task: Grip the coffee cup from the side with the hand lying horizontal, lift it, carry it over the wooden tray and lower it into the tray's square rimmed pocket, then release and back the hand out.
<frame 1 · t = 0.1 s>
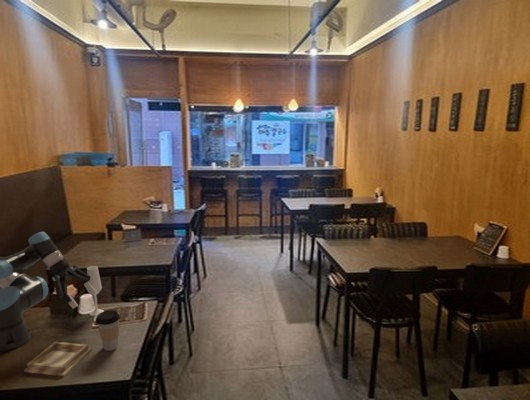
hand: (85, 300, 171), 15 cm above the table, tool tilted 35°, fingers open, 13 cm apart
champagne flute: (96, 312, 191), on the table
wooden tray: (59, 360, 152), on the table
coffee cup: (110, 347, 161), on the table
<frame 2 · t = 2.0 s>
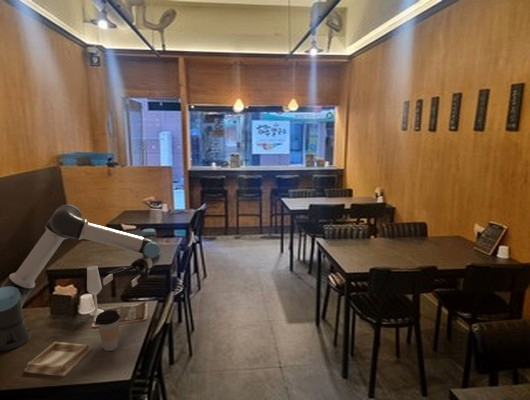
hand: (118, 283, 165), 25 cm above the table, tool horizontal, fingers open, 13 cm apart
nothing on the table moved.
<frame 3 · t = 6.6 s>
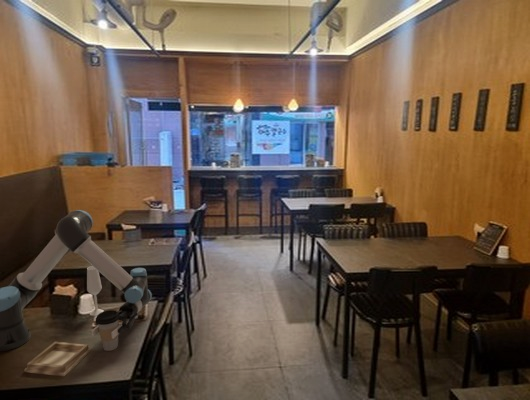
hand: (102, 334, 155), 9 cm above the table, tool horizontal, fingers closed on coffee cup, 8 cm apart
coffee cup: (110, 347, 161), on the table, touching gripper
everything else where it was.
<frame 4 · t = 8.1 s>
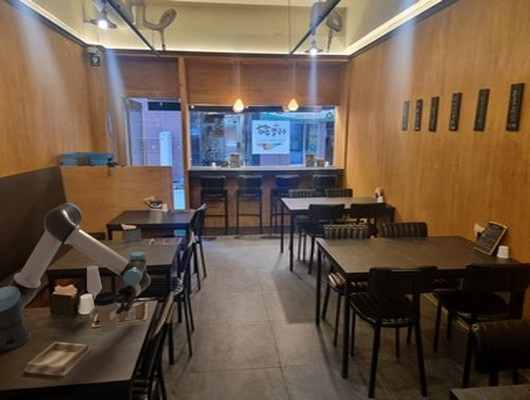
hand: (100, 315, 153), 17 cm above the table, tool horizontal, fingers closed on coffee cup, 8 cm apart
coffee cup: (108, 329, 159), point 8 cm above the table, touching gripper
everything else where it was.
when the fingers open (11 cm above the table, at t = 11.4 s): coffee cup moves 3 cm, resting on wooden tray.
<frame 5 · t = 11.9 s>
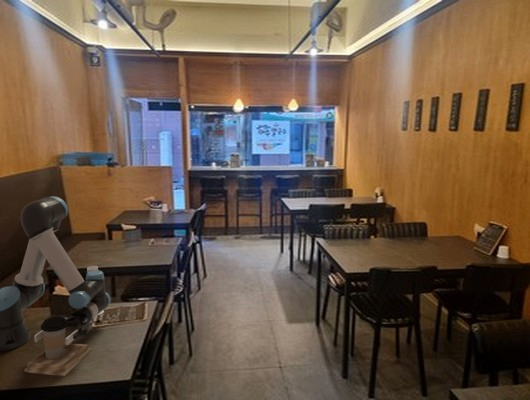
hand: (50, 340, 146), 11 cm above the table, tool horizontal, fingers open, 13 cm apart
coffee cup: (53, 355, 153), point 1 cm above the table, touching wooden tray, gripper
everything else where it was.
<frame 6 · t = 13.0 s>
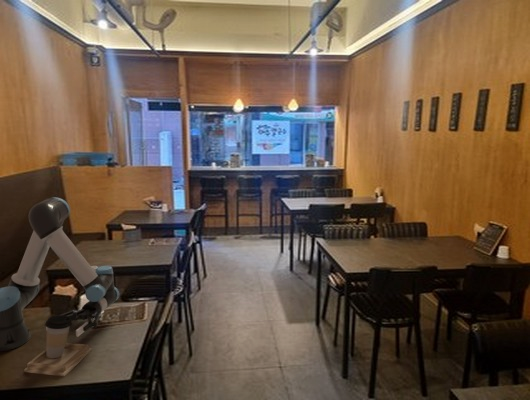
hand: (61, 332, 152), 11 cm above the table, tool horizontal, fingers open, 13 cm apart
coffee cup: (54, 355, 153), point 1 cm above the table, touching wooden tray
everything else where it was.
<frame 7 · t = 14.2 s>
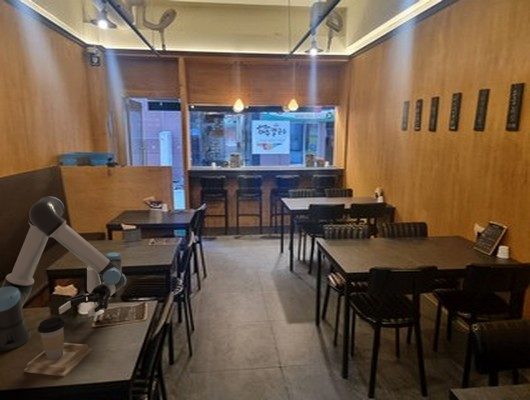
hand: (74, 312, 159), 16 cm above the table, tool horizontal, fingers open, 13 cm apart
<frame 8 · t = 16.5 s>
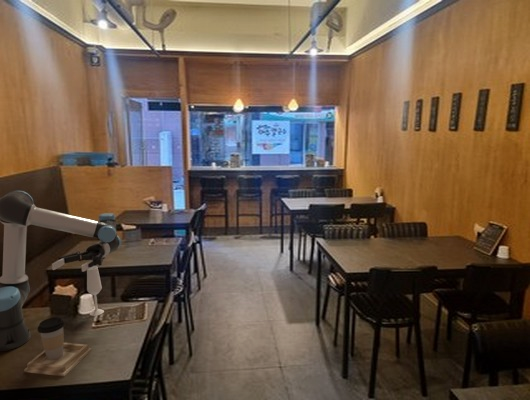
hand: (67, 267, 156), 35 cm above the table, tool horizontal, fingers open, 13 cm apart
at the end: coffee cup 3.1 cm off-centre on the wooden tray, point 0.8 cm above the wooden tray's base; coffee cup tilted 0°; the gripper is holding nothing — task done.
